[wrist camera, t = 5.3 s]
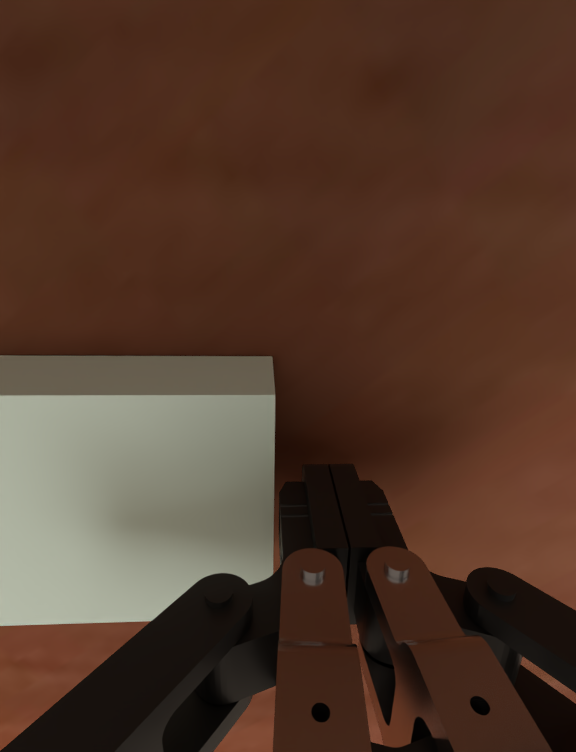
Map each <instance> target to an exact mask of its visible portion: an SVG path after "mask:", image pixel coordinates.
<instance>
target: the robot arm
mask: <svg viewBox="0 0 576 752" xmlns="http://www.w3.org/2000/svg"><path fill="white" fill-rule="evenodd" d="M279 549H280V567H279V569H278V570H277V571H276V572H275V573H274V574H273V575H272V576H270V577H269V578H267V579H265V580H263V581H260V582H257V583H254V584H251V585H249V584H248V583H247V582H246V581H245V580H244V579H242V578H241V577H239V576H237V575H234V574H229V573H217V574H212V575H209V576H206V577H204V578H202V579H200V580H199V581H198V582H196V583H195V584H194V585H193V586H192V587H190V588H189V589H188V590H187V591H186V592H185V593H184V594H182V595H181V596H180V597H179V598H178V599H177V600H175V601H174V602H173V603H172V604H171V605H170V606H168V607H167V608H166V609H165V610H164V611H163V612H161V613H160V614H159V615H158V616H157V617H156V618H154V619H153V620H152V621H151V622H150V623H149V624H147V625H146V626H145V627H144V628H143V629H142V630H141V631H139V632H138V633H137V634H136V635H135V636H134V637H132V638H131V639H130V640H129V641H128V642H127V643H125V644H124V645H123V646H122V647H121V648H120V649H118V650H117V651H116V652H115V653H114V654H113V655H111V656H110V657H109V658H108V659H107V660H106V661H104V662H103V663H102V664H101V665H100V666H99V667H97V668H96V669H95V670H94V671H93V672H92V673H91V674H89V675H88V676H87V677H86V678H85V679H84V680H82V681H81V682H80V683H79V684H78V685H77V686H75V687H74V688H73V689H72V690H71V691H70V692H68V693H67V694H66V695H65V696H64V697H63V698H61V699H60V700H59V701H58V702H57V703H56V704H54V705H53V706H52V707H51V708H50V709H49V710H48V711H46V712H45V713H44V714H43V715H42V716H41V717H39V718H38V719H37V720H36V721H35V722H34V723H32V724H31V725H30V726H29V727H28V728H27V729H25V730H24V731H23V732H22V733H21V734H20V735H18V736H17V737H16V738H15V739H14V740H13V741H11V742H10V743H9V744H8V745H7V746H6V747H4V748H3V749H2V750H1V751H0V752H213V751H214V750H215V749H216V747H217V746H218V745H219V743H220V742H221V741H222V739H223V738H224V737H225V736H226V734H227V733H228V732H229V730H230V729H231V728H232V726H233V725H234V724H235V722H236V721H237V720H238V719H239V717H240V716H241V715H242V713H243V712H244V711H245V709H246V708H247V707H248V705H249V703H250V701H251V699H252V696H253V695H254V694H256V693H259V692H261V691H264V690H266V689H269V688H271V687H274V686H276V696H275V717H274V737H273V752H576V704H575V703H574V702H572V701H571V700H570V699H568V698H567V697H565V696H564V695H563V694H561V693H560V692H558V691H557V690H555V689H554V688H553V687H551V686H550V685H548V684H547V683H546V682H544V681H543V680H541V679H540V678H539V677H537V676H536V675H534V674H533V673H532V672H530V671H529V670H527V669H526V668H525V667H523V666H522V665H520V664H521V660H522V657H525V658H526V659H528V660H529V661H531V662H532V663H533V664H535V665H536V666H538V667H539V668H541V669H542V670H544V671H545V672H546V673H548V674H549V675H551V676H552V677H554V678H555V679H556V680H558V681H559V682H561V683H562V684H564V685H565V686H567V687H568V688H569V689H571V690H572V691H574V692H575V693H576V611H575V610H574V609H572V608H570V607H568V606H567V605H565V604H563V603H561V602H560V601H558V600H556V599H555V598H553V597H551V596H549V595H548V594H546V593H544V592H542V591H541V590H539V589H537V588H536V587H534V586H532V585H530V584H529V583H527V582H525V581H523V580H522V579H520V578H518V577H517V576H515V575H513V574H511V573H509V572H506V571H504V570H501V569H497V568H490V567H484V568H478V569H476V570H473V571H472V572H471V573H470V574H469V575H468V578H467V581H466V582H465V581H460V580H456V579H451V578H447V577H443V576H439V575H437V574H434V573H432V572H430V571H429V570H428V568H427V567H426V565H425V563H424V562H423V561H422V560H421V559H420V558H419V557H418V556H417V555H416V554H414V553H412V552H411V551H408V549H407V546H406V544H405V542H404V539H403V537H402V534H401V532H400V530H399V527H398V525H397V523H396V520H395V518H394V516H393V515H392V511H391V508H390V506H389V505H388V501H387V499H386V497H385V494H384V492H383V490H382V489H380V488H379V487H378V486H377V485H376V484H375V483H374V482H373V481H359V478H358V476H357V473H356V470H355V467H354V465H353V464H328V465H327V464H307V465H303V466H302V482H286V483H285V484H284V486H283V487H282V489H281V491H280V492H279ZM350 624H357V628H358V632H359V642H358V648H357V645H356V644H352V637H351V629H350ZM360 664H361V667H362V670H363V674H364V677H365V681H366V684H367V687H368V691H369V694H370V698H371V701H372V704H373V708H374V711H375V715H376V718H377V721H378V725H379V728H380V732H381V735H382V740H383V745H380V744H376V743H372V742H371V741H370V734H369V726H368V719H367V711H366V704H365V697H364V689H363V682H362V674H361V667H360Z"/></svg>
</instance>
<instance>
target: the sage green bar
mask: <svg viewBox="0 0 576 752" xmlns="http://www.w3.org/2000/svg"><path fill="white" fill-rule="evenodd" d="M274 463H275V384H274V371H273V358H272V356H14V355H0V626H11V625H43V624H74V623H106V622H138V621H152V620H153V619H154V618H156V617H157V616H158V615H159V614H160V613H161V612H163V611H164V610H165V609H166V608H167V607H168V606H170V605H171V604H172V603H173V602H174V601H175V600H177V599H178V598H179V597H180V596H181V595H182V594H184V593H185V592H186V591H187V590H188V589H189V588H190V587H192V586H193V585H194V584H195V583H196V582H198V581H199V580H200V579H202V578H204V577H206V576H209V575H212V574H217V573H229V574H234V575H237V576H239V577H241V578H242V579H244V580H245V581H246V582H247V583H248V584H249V585H251V584H254V583H257V582H260V581H263V580H265V579H267V578H269V577H270V576H272V575H273V543H274Z"/></svg>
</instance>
